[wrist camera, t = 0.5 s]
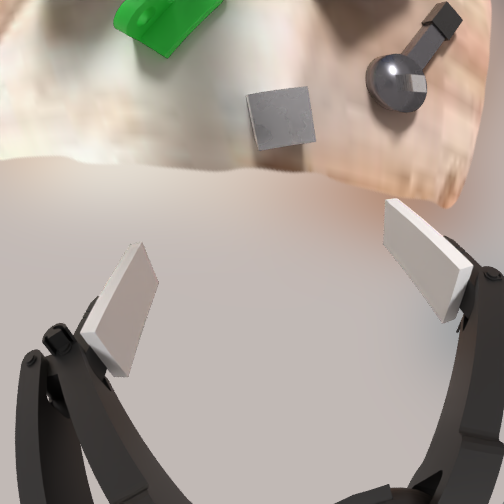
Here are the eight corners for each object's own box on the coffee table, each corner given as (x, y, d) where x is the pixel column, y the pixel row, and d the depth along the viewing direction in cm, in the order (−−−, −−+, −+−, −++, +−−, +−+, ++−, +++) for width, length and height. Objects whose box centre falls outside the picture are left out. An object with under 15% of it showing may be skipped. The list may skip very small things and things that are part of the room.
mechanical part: (168, 58, 26) (147, 48, 19) (132, 36, 23) (105, 23, 17) (236, -10, 21) (235, -36, 14) (199, -31, 19) (189, -59, 12)
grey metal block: (245, 95, 29) (247, 94, 23) (293, 88, 28) (307, 86, 22) (255, 140, 31) (259, 150, 25) (301, 132, 31) (316, 141, 25)
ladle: (354, 82, 28) (378, 81, 22) (427, -6, 19) (453, -14, 13) (395, 121, 30) (423, 129, 25) (460, 31, 21) (488, 29, 16)
